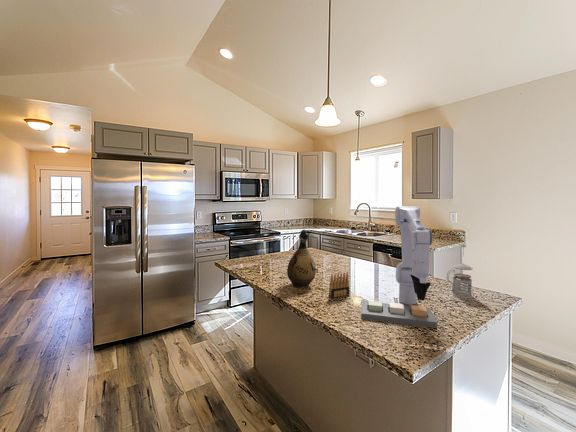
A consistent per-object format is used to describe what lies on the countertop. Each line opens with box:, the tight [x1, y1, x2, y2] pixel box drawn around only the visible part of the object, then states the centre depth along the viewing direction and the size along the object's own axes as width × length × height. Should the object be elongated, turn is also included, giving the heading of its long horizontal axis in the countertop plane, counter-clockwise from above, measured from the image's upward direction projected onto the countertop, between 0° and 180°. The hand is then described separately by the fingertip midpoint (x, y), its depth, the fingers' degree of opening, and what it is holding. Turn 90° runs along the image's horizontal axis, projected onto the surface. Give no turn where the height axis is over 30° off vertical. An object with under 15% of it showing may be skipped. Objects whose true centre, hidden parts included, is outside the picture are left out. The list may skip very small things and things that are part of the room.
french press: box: [446, 243, 474, 299], centre depth 138 cm, size 10×12×25 cm
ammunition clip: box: [328, 272, 350, 299], centre depth 132 cm, size 11×2×12 cm, turn 116°
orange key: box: [410, 304, 427, 317], centre depth 108 cm, size 5×5×3 cm
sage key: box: [368, 300, 383, 312], centre depth 112 cm, size 5×5×3 cm
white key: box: [388, 302, 404, 314], centre depth 110 cm, size 5×5×3 cm
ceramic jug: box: [286, 229, 317, 289], centre depth 151 cm, size 17×15×30 cm
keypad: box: [360, 300, 438, 329], centre depth 110 cm, size 14×26×3 cm, turn 73°
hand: (419, 296), depth 108 cm, fingers open, 7 cm apart
